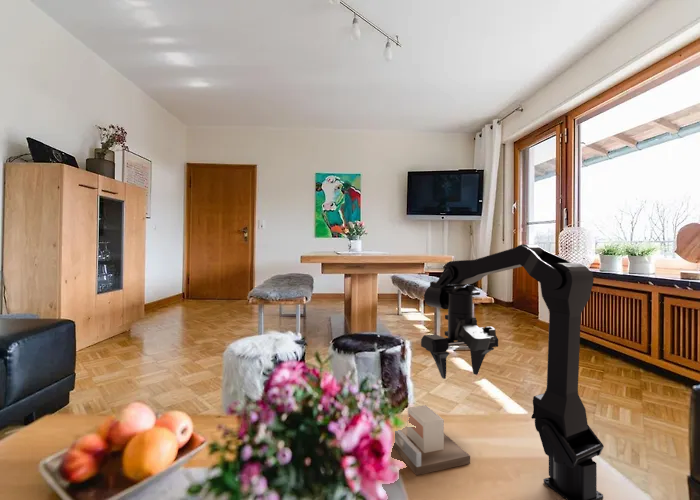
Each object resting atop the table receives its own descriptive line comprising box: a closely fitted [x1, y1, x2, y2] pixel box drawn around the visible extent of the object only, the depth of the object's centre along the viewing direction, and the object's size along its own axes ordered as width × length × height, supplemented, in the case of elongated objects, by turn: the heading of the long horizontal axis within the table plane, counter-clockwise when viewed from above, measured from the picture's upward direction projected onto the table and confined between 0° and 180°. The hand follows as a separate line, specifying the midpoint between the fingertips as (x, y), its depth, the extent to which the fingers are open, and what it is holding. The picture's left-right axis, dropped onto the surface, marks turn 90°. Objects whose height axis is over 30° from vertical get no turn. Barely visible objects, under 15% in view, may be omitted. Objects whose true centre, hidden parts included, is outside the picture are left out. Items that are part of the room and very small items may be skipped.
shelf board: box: [392, 426, 471, 476], centre depth 71 cm, size 14×12×4 cm
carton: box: [407, 404, 445, 453], centre depth 72 cm, size 5×7×6 cm, turn 18°
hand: (459, 376), depth 83 cm, fingers open, 9 cm apart
